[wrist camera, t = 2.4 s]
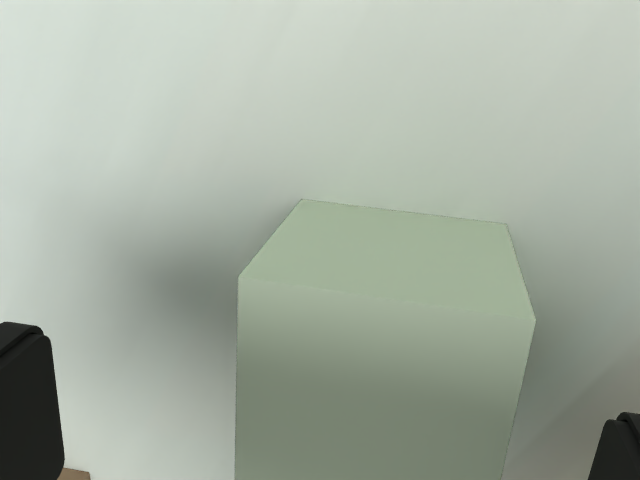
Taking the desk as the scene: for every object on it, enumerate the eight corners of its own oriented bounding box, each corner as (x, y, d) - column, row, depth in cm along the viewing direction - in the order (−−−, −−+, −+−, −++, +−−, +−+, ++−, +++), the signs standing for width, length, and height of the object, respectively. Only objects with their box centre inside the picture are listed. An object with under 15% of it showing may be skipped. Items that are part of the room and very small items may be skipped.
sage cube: (506, 222, 14) (536, 320, 9) (472, 397, 16) (484, 551, 11) (302, 198, 15) (238, 276, 10) (292, 367, 17) (234, 499, 12)
